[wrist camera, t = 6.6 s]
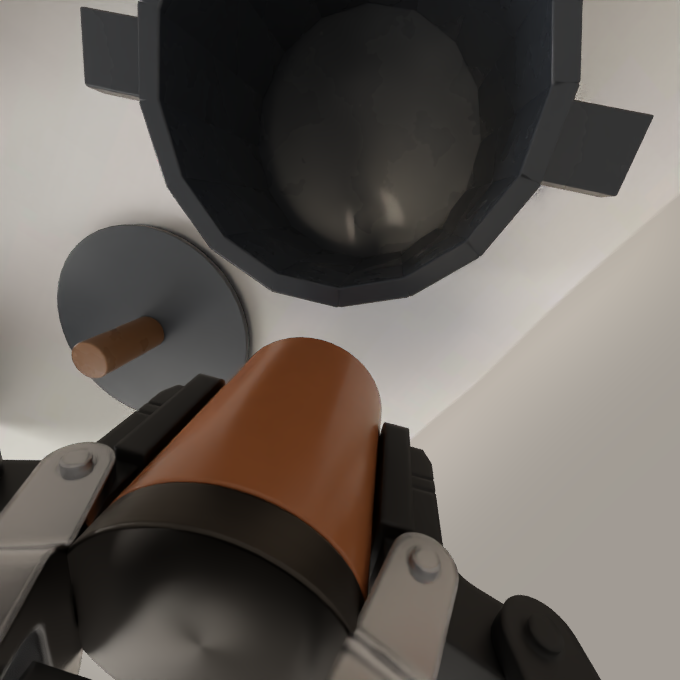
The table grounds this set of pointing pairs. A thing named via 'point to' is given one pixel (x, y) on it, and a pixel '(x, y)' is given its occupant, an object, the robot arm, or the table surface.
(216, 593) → the tea tin
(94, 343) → the pot lid
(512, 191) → the pot
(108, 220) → the table surface
